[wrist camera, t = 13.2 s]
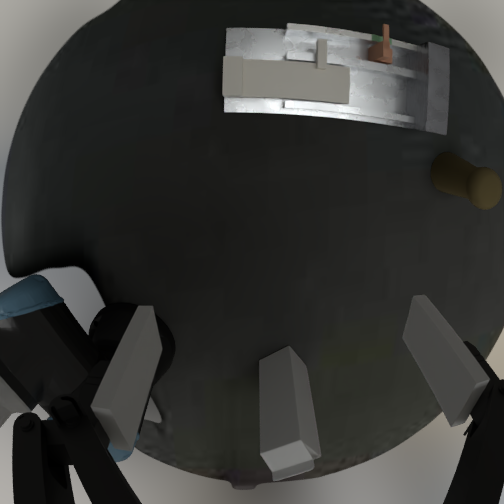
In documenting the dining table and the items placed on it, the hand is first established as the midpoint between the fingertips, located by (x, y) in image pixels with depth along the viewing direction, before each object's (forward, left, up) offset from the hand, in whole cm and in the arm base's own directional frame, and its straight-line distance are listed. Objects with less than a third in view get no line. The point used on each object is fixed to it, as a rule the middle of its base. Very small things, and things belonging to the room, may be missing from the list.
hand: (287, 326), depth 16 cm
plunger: (+2, +15, -27) cm, 31 cm away
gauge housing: (+7, +16, -28) cm, 33 cm away
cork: (+26, +5, -29) cm, 39 cm away
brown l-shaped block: (+13, +20, -27) cm, 36 cm away
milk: (+4, -29, -29) cm, 41 cm away
